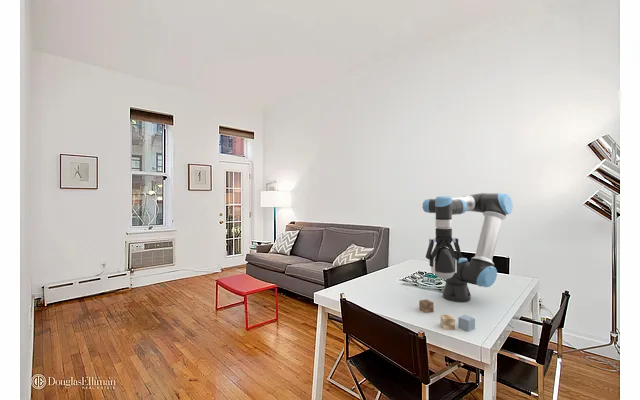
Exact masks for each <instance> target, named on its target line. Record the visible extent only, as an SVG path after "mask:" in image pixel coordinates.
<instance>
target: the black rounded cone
mask: <svg viewBox="0 0 640 400" xmlns="http://www.w3.org/2000/svg"><path fill="white" fill-rule="evenodd" d="M453 258H454V257H453V255H452V253H451V252H450V250H449V248H448V247H441V248H440V249H439V251H438V252H437V254H436V256H435V258H434V260H435V276H436V277H437V278H439V279H444V280H446V279H449V278H451V277H452V276H453V275H454V272H455V264H454V260H453Z"/></svg>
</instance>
